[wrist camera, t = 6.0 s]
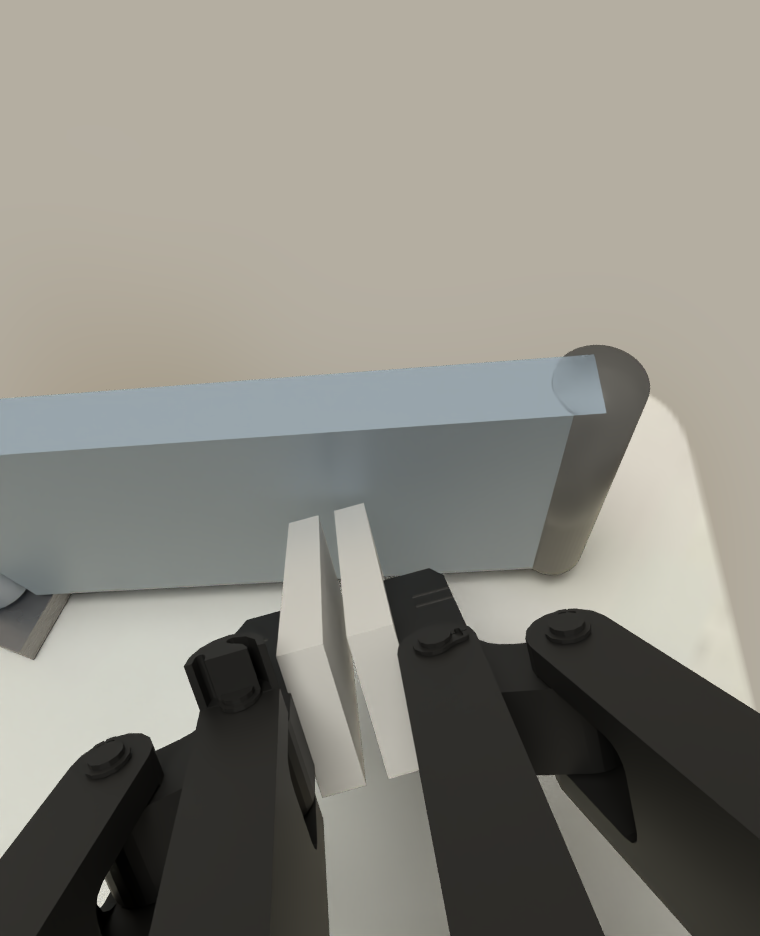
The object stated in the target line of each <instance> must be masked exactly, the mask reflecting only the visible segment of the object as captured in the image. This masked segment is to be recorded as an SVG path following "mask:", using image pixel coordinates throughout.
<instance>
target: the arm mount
mask: <svg viewBox="0 0 760 936" xmlns="http://www.w3.org/2000/svg"><path fill="white" fill-rule="evenodd" d="M70 595H71V593H66V594H47V595H36V594H34V593H33V592H31V591H29V590H28V589H26V590H25V591H24V593H23V594H22V595H21V596H20V597H19V598H18V599H17V600H15V601H14V602H13V603H11V604H10V605H8V606H6V607H3V608H1V609H0V647H3V648H5V649H8V650H10V651H13V652H15V653H18V654H20V655H23V656H25V657H28V658H30V659H34V658H35V656H36V654H37V652H38V651H39V649H40V647H41V646H42V644H43V642H44V640H45V639H46V637H47V635H48V633H49V632H50V630H51V628H52V626H53V625H54V623H55V621H56V619H57V618H58V616H59V614H60V612H61V611H62V609H63V607H64V605H65V604H66V602H67V600H68V598H69V597H70Z"/></svg>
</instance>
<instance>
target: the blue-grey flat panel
mask: <svg viewBox="0 0 760 936" xmlns="http://www.w3.org/2000/svg"><path fill="white" fill-rule="evenodd" d="M649 392H650V383H649V378H648V375H647V373H646V371H645V369H644V368H643V366H642V365H641V364H640V363H639V362H638V361H637V360H636V359H635V358H634V357H633V356H631V355H630V354H628V353H626V352H624V351H622V350H620V349H617V348H614V347H610V346H605V345H590V346H584V347H580V348H577V349H575V350H573V351H571V352H569V353H567V354H566V355H565V356H563V357H554V358H540V359H527V360H513V361H500V362H486V363H473V364H459V365H446V366H433V367H420V368H406V369H392V370H379V371H366V372H353V373H339V374H326V375H312V376H300V377H286V378H272V379H259V380H247V381H246V380H245V381H233V382H219V383H205V384H192V385H179V386H165V387H153V388H138V389H125V390H111V391H98V392H85V393H71V394H58V395H45V396H32V397H19V398H5V399H0V609H1V608H3V607H6V606H8V605H10V604H11V603H13V602H14V601H15V600H17V599H18V598H19V597H20V596H21V595H22V594H23V593H24V591H25V590H26V589H28V590H29V591H31V592H33V593H34V594H36V595H47V594H66V593H85V592H103V591H122V590H141V589H159V588H178V587H196V586H215V585H234V584H252V583H271V582H283V580H284V569H285V559H286V548H287V538H288V528H289V523H291V522H295V521H299V520H302V519H306V518H310V517H313V516H317V515H319V518H320V521H321V525H322V528H323V532H324V535H325V539H326V542H327V545H328V549H329V552H330V556H331V559H332V563H333V566H334V569H335V573H336V576H337V579H341V576H340V565H339V555H338V545H337V535H336V525H335V515H334V511H335V510H339V509H343V508H346V507H350V506H354V505H357V504H361V503H364V506H365V510H366V513H367V517H368V521H369V524H370V528H371V532H372V535H373V539H374V543H375V546H376V550H377V554H378V557H379V561H380V565H381V568H382V572H383V576H401V575H405V574H409V573H413V572H416V571H420V570H424V569H427V568H430V569H432V570H434V571H436V572H438V573H457V572H476V571H494V570H513V569H534V570H535V571H537V572H540V573H543V574H548V575H557V574H562V573H565V572H567V571H569V570H570V569H572V568H573V567H574V566H575V565H576V564H577V562H578V561H579V559H580V557H581V554H582V552H583V550H584V547H585V545H586V543H587V540H588V538H589V536H590V533H591V531H592V529H593V526H594V524H595V522H596V519H597V517H598V515H599V512H600V510H601V508H602V505H603V503H604V500H605V498H606V496H607V493H608V491H609V489H610V486H611V484H612V482H613V479H614V477H615V475H616V472H617V470H618V468H619V465H620V463H621V461H622V458H623V456H624V454H625V451H626V449H627V447H628V444H629V442H630V440H631V437H632V435H633V433H634V430H635V428H636V425H637V423H638V421H639V418H640V416H641V414H642V411H643V409H644V407H645V404H646V402H647V400H648V397H649Z"/></svg>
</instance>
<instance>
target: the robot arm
mask: <svg viewBox="0 0 760 936" xmlns="http://www.w3.org/2000/svg"><path fill="white" fill-rule="evenodd" d="M334 515H335V525H336V535H337V545H338V555H339V565H340V576H341V586H342V593H341V590H340V586H339V583H338V580H337V576H336V573H335V569H334V566H333V563H332V559H331V556H330V552H329V549H328V545H327V542H326V539H325V535H324V532H323V528H322V525H321V521H320V518H319V515H317V516H313V517H310V518H306V519H302V520H299V521H295V522H291V523H289V528H288V538H287V548H286V559H285V569H284V580H283V590H282V600H281V611H278V612H274V613H271V614H267V615H264V616H260V617H256V618H253V619H249V620H246V622H245V623H244V624H243V625H242V626H241V627H240V629H239V630H238V631H237V632H236V633H235V634H233V635H228V636H225V637H223V638H220V639H217V640H215V641H212V642H211V643H209V644H207V645H205V646H204V647H202V648H200V649H199V650H198V651H196V652H195V653H194V654H193V655H192V656H191V657H189V659H188V660H187V662H186V664H185V665H184V668H185V671H186V674H187V677H188V679H189V682H190V685H191V687H192V690H193V693H194V696H195V698H196V701H197V704H198V706H199V709H200V713H199V718H198V722H197V726H196V730H195V731H194V732H192V733H191V734H189V735H187V736H185V737H183V738H182V739H180V740H178V741H176V742H174V743H171V744H169V745H167V746H165V747H163V748H161V749H159V750H157V751H155V749H154V746H153V744H152V741H151V739H150V737H148V736H146V735H144V734H142V733H130V734H125V735H121V736H118V737H116V736H115V737H112V738H109V739H107V740H106V741H105V742H104V741H102V742H101V743H99V744H97V745H95V746H94V747H93V748H92V749H91V750H89V751H88V752H86V753H85V754H84V755H82V756H81V757H80V758H79V759H78V760H77V761H76V762H75V763H74V764H73V765H72V766H71V767H70V768H69V770H68V771H67V772H66V774H65V775H64V776H63V778H62V779H61V780H60V781H59V783H58V784H57V785H56V787H55V788H54V789H53V791H52V792H51V793H50V795H49V796H48V797H47V798H46V800H45V801H44V802H43V804H42V805H41V806H40V808H39V809H38V810H37V812H36V813H35V814H34V815H33V817H32V818H31V819H30V821H29V822H28V823H27V825H26V826H25V827H24V829H23V830H22V831H21V832H20V834H19V835H18V836H17V838H16V839H15V840H14V842H13V843H12V844H11V846H10V847H9V848H8V849H7V851H6V852H5V853H4V855H3V856H2V857H1V859H0V936H329V919H328V900H327V881H326V862H325V843H324V824H323V817H322V814H321V811H320V808H319V805H318V802H317V799H316V796H315V777H316V780H317V783H318V786H319V789H320V792H321V795H322V798H324V797H327V796H331V795H334V794H338V793H341V792H345V791H349V790H352V789H356V788H359V787H363V786H366V779H365V770H364V761H363V752H362V743H361V734H360V725H359V716H358V707H357V698H356V689H355V680H354V671H353V662H352V657H353V660H354V664H355V667H356V670H357V674H358V677H359V681H360V684H361V687H362V691H363V694H364V698H365V701H366V704H367V708H368V711H369V714H370V718H371V721H372V725H373V728H374V731H375V735H376V738H377V742H378V745H379V748H380V752H381V755H382V758H383V762H384V765H385V769H386V772H387V775H388V779H390V778H394V777H398V776H401V775H405V774H408V773H412V772H415V771H419V772H420V778H421V783H422V788H423V793H424V799H425V804H426V809H427V815H428V820H429V825H430V830H431V836H432V841H433V846H434V852H435V857H436V862H437V867H438V873H439V878H440V883H441V889H442V894H443V899H444V904H445V910H446V915H447V920H448V925H449V931H450V936H605V935H604V933H603V931H602V928H601V926H600V924H599V921H598V919H597V917H596V914H595V912H594V910H593V907H592V905H591V903H590V900H589V898H588V896H587V893H586V891H585V888H584V886H583V884H582V881H581V879H580V877H579V874H578V872H577V870H576V867H575V865H574V863H573V860H572V858H571V856H570V853H569V851H568V849H567V846H566V844H565V842H564V839H563V837H562V835H561V832H560V830H559V828H558V825H557V823H556V820H555V818H554V816H553V813H552V811H551V809H550V806H549V804H548V802H547V799H546V797H545V795H544V792H543V790H542V788H541V785H540V783H539V781H538V778H537V776H536V775H555V776H556V779H557V781H558V783H559V785H560V787H561V789H562V790H563V791H564V792H565V793H566V794H567V796H568V797H569V798H570V799H571V800H572V801H573V802H574V803H575V805H576V806H577V807H578V808H579V809H580V810H581V811H582V812H583V814H584V815H585V816H586V817H587V818H588V819H589V820H590V821H591V823H592V824H593V825H594V826H595V827H596V828H597V829H598V830H599V832H600V833H601V834H602V835H603V836H604V837H605V838H606V839H607V841H608V842H609V843H610V844H611V845H612V846H613V847H614V848H615V850H616V851H617V852H618V853H619V854H620V855H621V856H622V857H623V859H624V860H625V861H626V862H627V863H628V864H629V865H630V866H631V868H632V869H633V870H634V871H635V872H636V873H637V874H638V875H639V877H640V878H641V879H642V880H643V881H644V882H645V883H646V884H647V886H648V887H649V888H650V889H651V890H652V891H653V892H654V893H655V895H656V896H657V897H658V898H659V899H660V900H661V901H662V902H663V904H664V905H665V906H666V907H667V908H668V909H669V910H670V911H671V913H672V914H673V915H674V916H675V917H676V918H677V919H678V920H679V922H680V923H681V924H682V925H683V926H684V927H685V928H686V929H687V931H688V932H689V933H690V934H691V935H692V936H760V713H758V712H756V711H755V710H753V709H752V708H750V707H748V706H747V705H745V704H744V703H742V702H741V701H739V700H737V699H736V698H734V697H733V696H731V695H730V694H728V693H726V692H725V691H723V690H722V689H720V688H718V687H717V686H715V685H714V684H712V683H711V682H709V681H707V680H706V679H704V678H703V677H701V676H699V675H698V674H696V673H695V672H693V671H692V670H690V669H688V668H687V667H685V666H684V665H682V664H680V663H679V662H677V661H676V660H674V659H673V658H671V657H669V656H668V655H666V654H665V653H663V652H661V651H660V650H658V649H657V648H655V647H654V646H652V645H650V644H649V643H647V642H646V641H644V640H643V639H641V638H639V637H638V636H636V635H635V634H633V633H631V632H630V631H628V630H627V629H625V628H624V627H622V626H620V625H619V624H617V623H616V622H614V621H612V620H611V619H609V618H608V617H606V616H604V615H602V614H599V613H597V612H594V611H591V610H582V609H568V610H566V609H563V610H558V611H556V612H554V613H550V614H547V615H544V616H543V617H541V618H539V619H537V620H536V621H534V622H533V623H532V624H531V625H530V627H529V628H528V629H527V631H526V638H525V639H526V643H521V644H492V643H487V642H484V641H481V640H479V639H478V638H477V635H476V633H475V632H474V631H473V630H472V629H471V628H470V627H469V626H466V624H465V621H464V619H463V617H462V615H461V613H460V611H459V608H458V606H457V604H456V602H455V600H454V598H453V595H452V593H451V591H450V589H449V587H448V584H447V582H446V580H445V578H444V576H443V575H442V574H440V573H438V572H436V571H434V570H432V569H430V568H427V569H424V570H420V571H416V572H413V573H409V574H405V575H402V576H398V577H394V578H391V579H387V580H385V579H384V576H383V572H382V568H381V565H380V561H379V557H378V554H377V550H376V546H375V543H374V539H373V535H372V532H371V528H370V524H369V521H368V517H367V513H366V510H365V506H364V503H361V504H357V505H354V506H350V507H346V508H343V509H339V510H335V511H334ZM342 596H343V597H342ZM104 879H105V880H106V882H107V885H108V887H109V889H110V891H111V892H110V894H109V895H108V897H107V899H106V901H105V903H104V904H103V905H102V907H101V908H100V907H99V906H98V905H97V896H98V893H99V891H100V888H101V885H102V883H103V881H104Z"/></svg>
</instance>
